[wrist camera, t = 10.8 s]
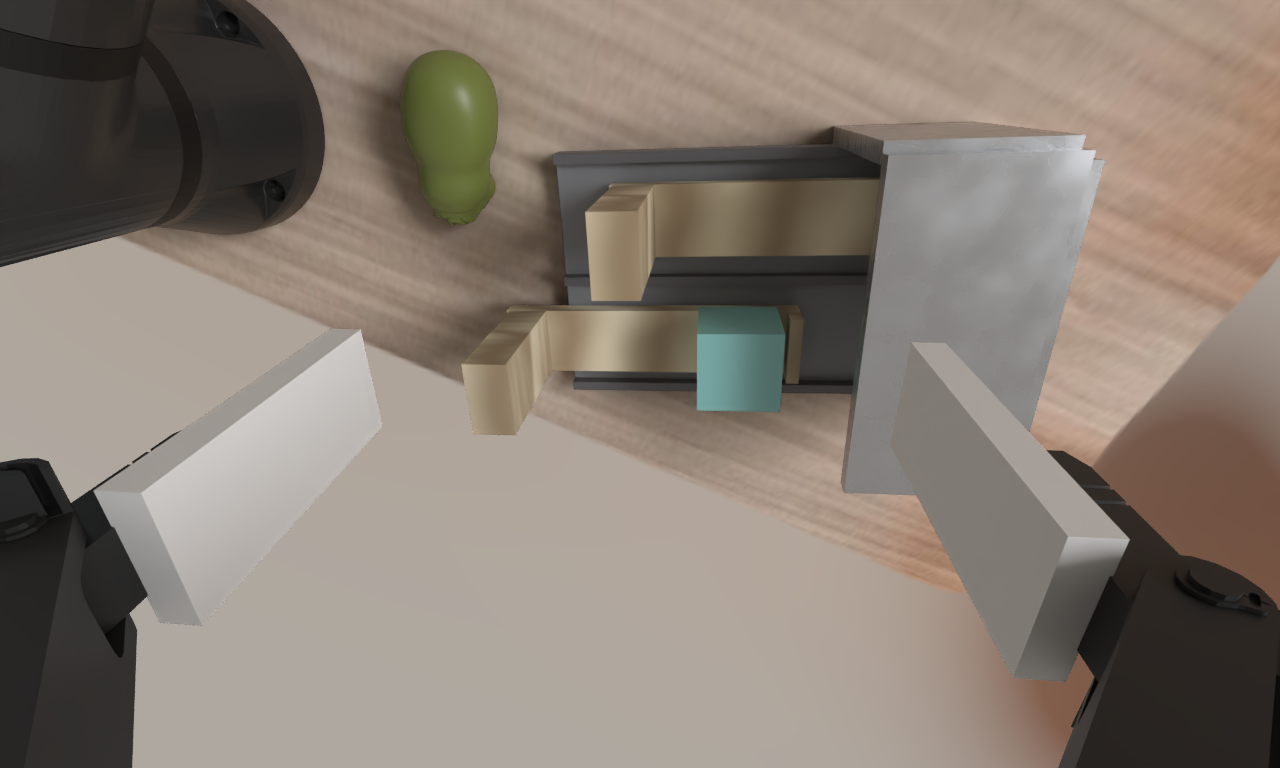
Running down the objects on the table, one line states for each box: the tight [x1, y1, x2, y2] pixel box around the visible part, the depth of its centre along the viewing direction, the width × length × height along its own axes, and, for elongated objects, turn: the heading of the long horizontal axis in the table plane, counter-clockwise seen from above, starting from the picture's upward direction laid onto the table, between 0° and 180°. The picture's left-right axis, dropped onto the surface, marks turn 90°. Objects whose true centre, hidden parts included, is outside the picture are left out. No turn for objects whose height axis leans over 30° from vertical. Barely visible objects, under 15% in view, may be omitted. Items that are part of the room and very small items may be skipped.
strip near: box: [585, 177, 880, 301], centre depth 33 cm, size 20×4×10 cm, turn 92°
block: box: [697, 307, 785, 412], centre depth 38 cm, size 5×5×5 cm
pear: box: [401, 50, 498, 226], centre depth 38 cm, size 6×5×10 cm
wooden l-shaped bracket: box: [461, 305, 804, 435], centre depth 38 cm, size 20×4×10 cm, turn 92°
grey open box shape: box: [832, 122, 1105, 495], centre depth 34 cm, size 9×18×13 cm, turn 2°
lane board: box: [552, 144, 881, 394], centre depth 40 cm, size 24×16×2 cm, turn 92°
